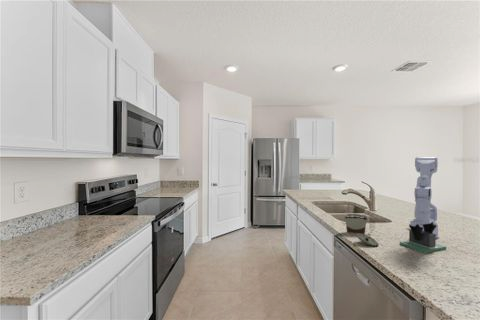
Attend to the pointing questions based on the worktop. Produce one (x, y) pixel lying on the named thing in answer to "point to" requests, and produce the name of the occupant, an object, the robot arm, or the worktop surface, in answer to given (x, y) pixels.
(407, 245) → the header board
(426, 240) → the plug housing
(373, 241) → the lid
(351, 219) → the food container
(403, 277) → the worktop surface
